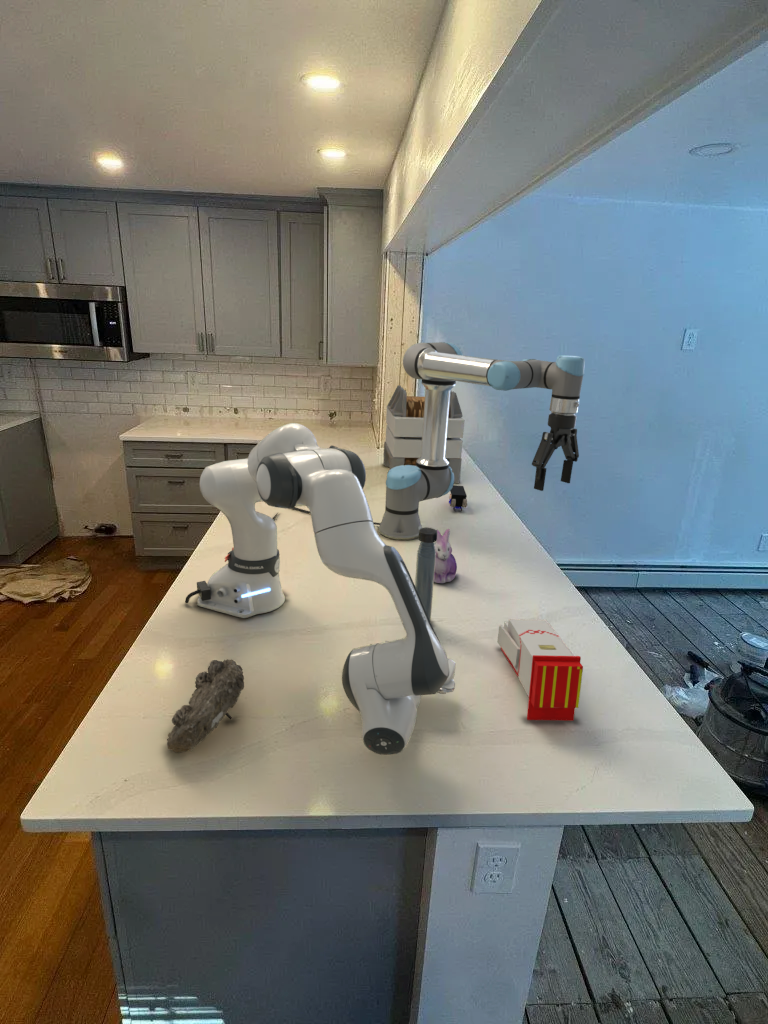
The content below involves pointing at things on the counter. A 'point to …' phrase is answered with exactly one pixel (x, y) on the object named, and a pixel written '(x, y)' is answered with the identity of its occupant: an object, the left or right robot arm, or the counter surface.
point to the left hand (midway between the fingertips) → (410, 646)
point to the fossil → (206, 705)
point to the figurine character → (458, 497)
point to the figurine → (444, 559)
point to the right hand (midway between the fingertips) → (552, 485)
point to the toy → (542, 668)
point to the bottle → (425, 574)
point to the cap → (427, 535)
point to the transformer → (419, 431)
